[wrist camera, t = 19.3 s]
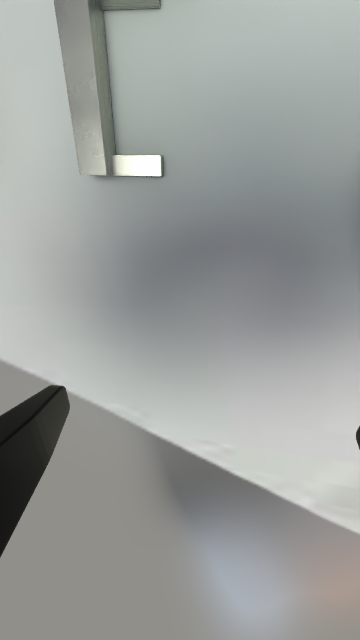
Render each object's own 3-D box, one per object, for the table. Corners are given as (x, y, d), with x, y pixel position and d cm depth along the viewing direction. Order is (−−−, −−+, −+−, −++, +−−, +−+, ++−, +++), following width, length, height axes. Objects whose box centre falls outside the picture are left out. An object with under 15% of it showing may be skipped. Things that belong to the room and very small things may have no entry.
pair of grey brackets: (159, -24, 12) (150, -60, 10) (162, 176, 16) (157, 175, 14) (-145, -9, 13) (-200, -38, 11) (-74, 173, 17) (-106, 172, 15)
